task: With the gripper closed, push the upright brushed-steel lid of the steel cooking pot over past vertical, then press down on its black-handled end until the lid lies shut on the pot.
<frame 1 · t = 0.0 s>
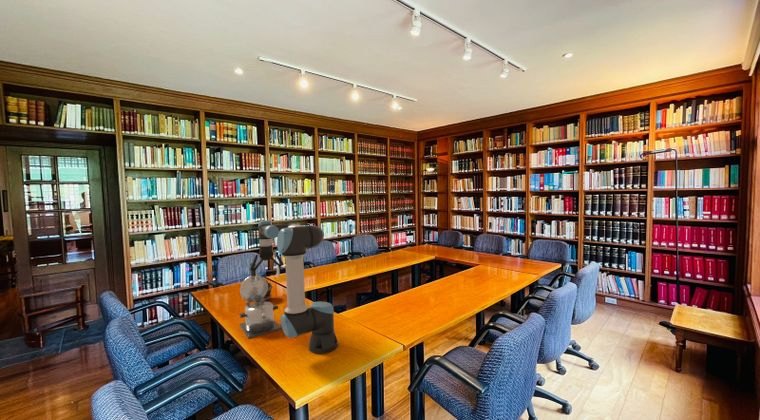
hand: (267, 279, 193), 28 cm above the table, fingers open, 13 cm apart
lid: (253, 282, 195), point 26 cm above the table, hinge at 92.0°
cooker: (260, 327, 188), on the table
flowerpot: (262, 300, 237), on the table
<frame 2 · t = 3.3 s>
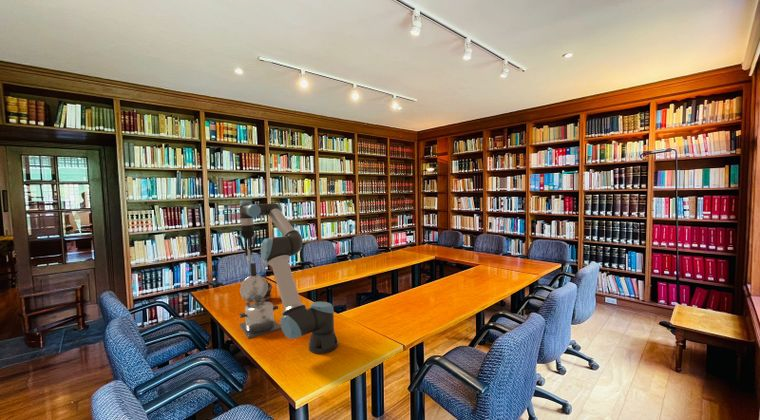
hand: (248, 260, 202), 38 cm above the table, fingers closed
nothing on the table moved.
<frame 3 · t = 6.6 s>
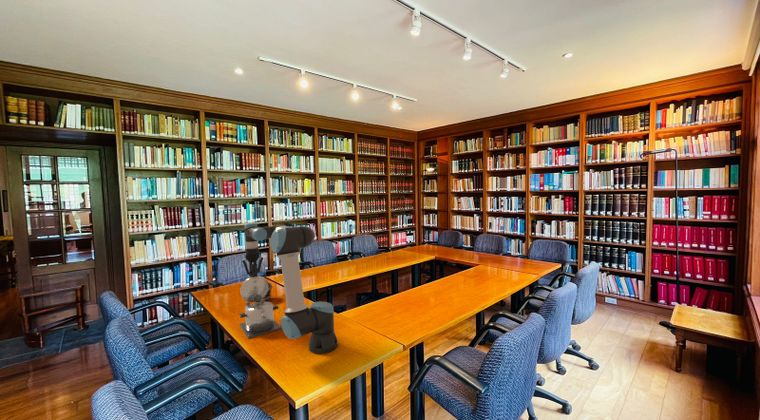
hand: (253, 284, 195), 24 cm above the table, fingers closed
lid: (254, 282, 194), point 26 cm above the table, hinge at 83.9°, touching gripper
everything else where it was.
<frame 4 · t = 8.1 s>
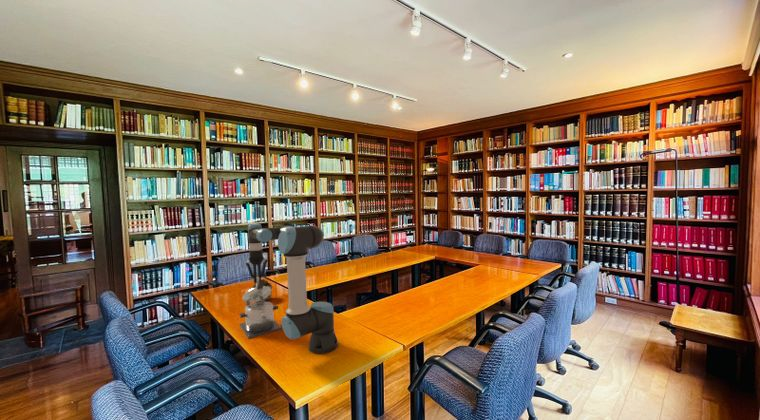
hand: (257, 287, 188), 24 cm above the table, fingers closed
lid: (257, 289, 187), point 23 cm above the table, hinge at 43.7°, touching gripper
everything else where it was.
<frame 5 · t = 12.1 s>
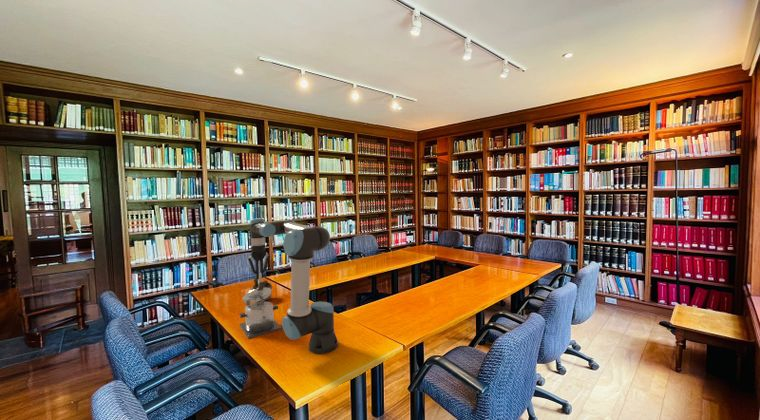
hand: (260, 284, 183), 28 cm above the table, fingers closed
lid: (258, 290, 187), point 23 cm above the table, hinge at 40.1°, touching gripper
everything else where it was.
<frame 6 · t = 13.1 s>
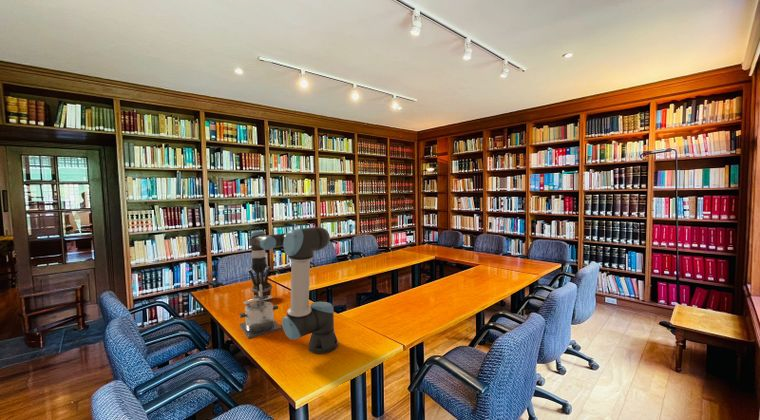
hand: (260, 295, 183), 21 cm above the table, fingers closed
lid: (259, 297, 185), point 19 cm above the table, hinge at 20.7°, touching gripper
everything else where it was.
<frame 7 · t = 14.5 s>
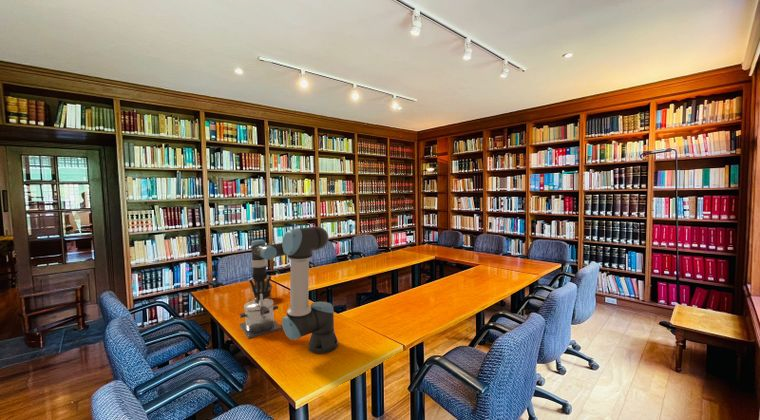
hand: (261, 305, 183), 15 cm above the table, fingers closed
lid: (260, 304, 184), point 15 cm above the table, hinge at 0.7°, touching gripper
everything else where it was.
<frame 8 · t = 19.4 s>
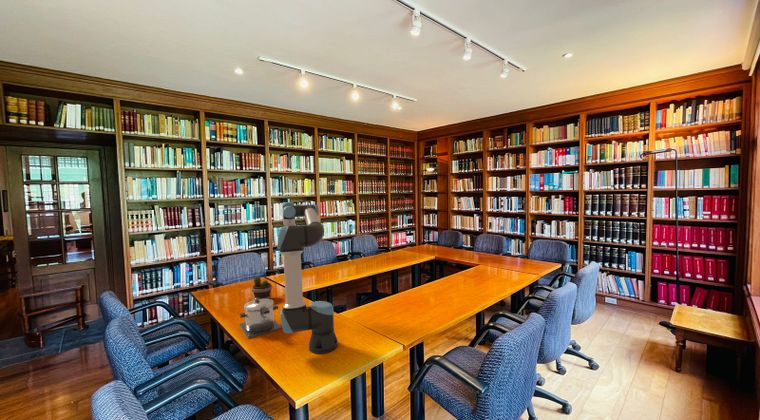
hand: (290, 260, 207), 36 cm above the table, fingers closed
lid: (260, 304, 184), point 15 cm above the table, hinge at 0.7°
everything else where it was.
at the end: lid at +1° (first picture: +92°) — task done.
